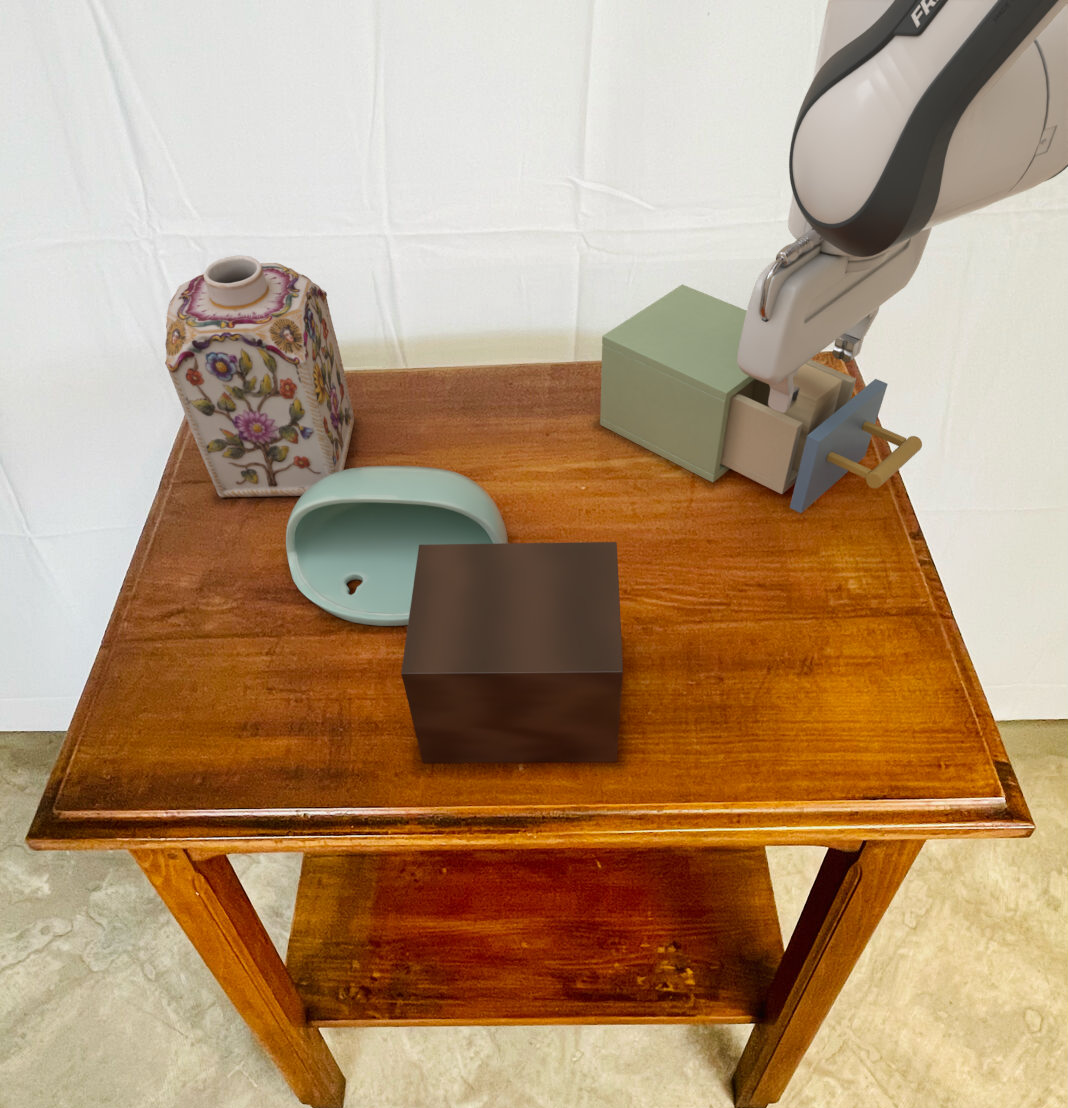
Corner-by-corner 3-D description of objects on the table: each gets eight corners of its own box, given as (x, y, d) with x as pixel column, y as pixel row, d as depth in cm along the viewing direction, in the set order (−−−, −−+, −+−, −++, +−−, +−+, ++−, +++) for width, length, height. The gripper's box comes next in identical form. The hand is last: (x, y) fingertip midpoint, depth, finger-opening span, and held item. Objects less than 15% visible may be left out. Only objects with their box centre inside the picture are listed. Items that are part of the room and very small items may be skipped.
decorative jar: (358, 421, 89) (315, 231, 75) (342, 497, 82) (292, 305, 68) (239, 424, 90) (174, 236, 75) (214, 500, 83) (136, 309, 68)
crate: (611, 638, 71) (616, 541, 63) (616, 762, 64) (623, 671, 56) (436, 640, 72) (418, 544, 64) (422, 763, 65) (400, 673, 57)
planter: (513, 428, 76) (492, 562, 66) (517, 498, 82) (498, 630, 72) (294, 424, 77) (243, 555, 68) (314, 493, 83) (270, 622, 74)
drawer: (917, 480, 80) (944, 407, 74) (853, 540, 75) (877, 467, 70) (751, 404, 87) (764, 332, 81) (685, 455, 83) (694, 383, 77)
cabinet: (785, 424, 86) (805, 334, 79) (712, 483, 82) (726, 393, 74) (673, 372, 92) (682, 284, 85) (599, 425, 88) (602, 335, 80)
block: (786, 433, 82) (802, 362, 77) (823, 450, 81) (842, 379, 75) (760, 453, 81) (775, 382, 75) (798, 472, 79) (816, 401, 73)
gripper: (810, 274, 58) (773, 455, 69) (966, 165, 66) (910, 342, 78) (730, 245, 61) (707, 424, 72) (890, 143, 69) (847, 318, 80)
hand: (813, 381), depth 75 cm, fingers open, 8 cm apart
